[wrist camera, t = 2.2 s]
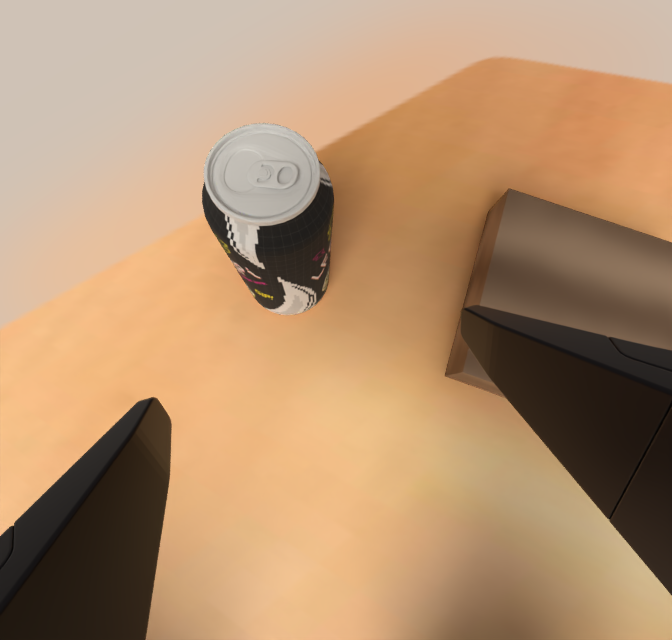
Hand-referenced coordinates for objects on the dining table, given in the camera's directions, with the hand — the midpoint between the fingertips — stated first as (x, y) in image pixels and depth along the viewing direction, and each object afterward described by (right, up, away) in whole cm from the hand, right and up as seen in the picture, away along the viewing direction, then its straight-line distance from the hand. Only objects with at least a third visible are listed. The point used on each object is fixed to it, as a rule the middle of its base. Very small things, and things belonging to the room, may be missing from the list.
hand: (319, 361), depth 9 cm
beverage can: (-3, +4, +15) cm, 16 cm away
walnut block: (+17, +1, +15) cm, 23 cm away
